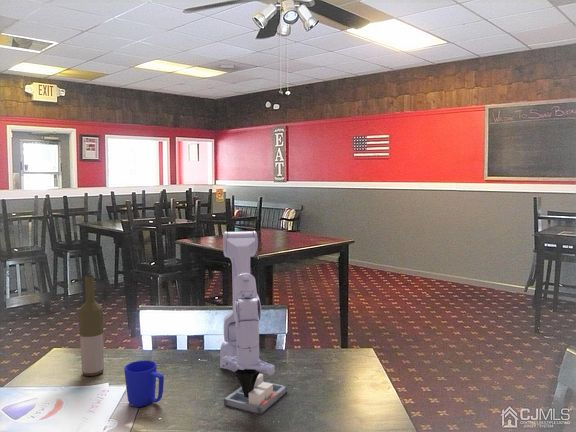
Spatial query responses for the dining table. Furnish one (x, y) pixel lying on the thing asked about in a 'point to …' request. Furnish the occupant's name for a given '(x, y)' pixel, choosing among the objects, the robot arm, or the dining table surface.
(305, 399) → the dining table surface
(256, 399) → the tab near
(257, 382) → the tab far
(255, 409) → the switch bank
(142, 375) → the mug
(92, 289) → the bottle
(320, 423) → the dining table surface
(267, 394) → the tab mid
